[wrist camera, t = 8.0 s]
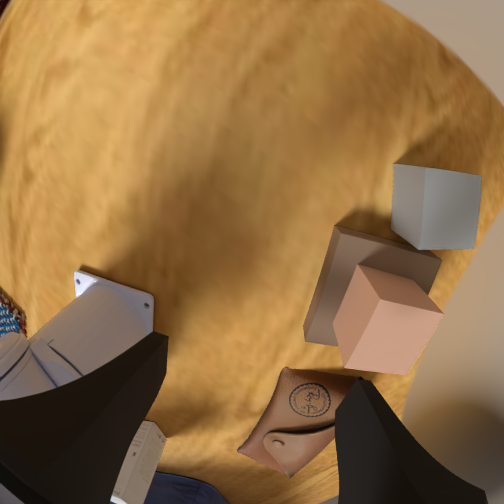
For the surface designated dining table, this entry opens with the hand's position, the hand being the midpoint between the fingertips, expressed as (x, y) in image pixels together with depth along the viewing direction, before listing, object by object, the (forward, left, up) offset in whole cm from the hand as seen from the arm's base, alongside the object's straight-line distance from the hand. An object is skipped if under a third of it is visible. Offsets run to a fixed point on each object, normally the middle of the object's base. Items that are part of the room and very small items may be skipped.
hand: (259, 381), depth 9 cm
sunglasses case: (-17, -7, -11) cm, 21 cm away
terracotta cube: (0, -7, -8) cm, 11 cm away
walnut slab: (0, -8, -11) cm, 13 cm away
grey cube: (+8, -9, -10) cm, 16 cm away
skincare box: (-26, +10, -11) cm, 30 cm away
